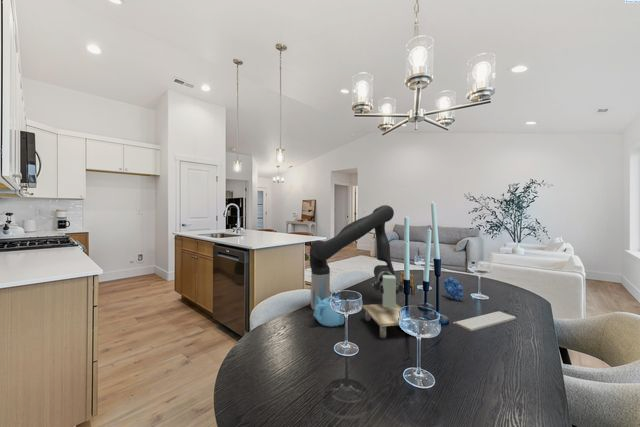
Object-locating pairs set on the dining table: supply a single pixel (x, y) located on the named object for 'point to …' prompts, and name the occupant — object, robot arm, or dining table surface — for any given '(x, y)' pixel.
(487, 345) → the dining table surface
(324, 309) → the teapot
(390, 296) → the sage post
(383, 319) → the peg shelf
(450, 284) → the grapes
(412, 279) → the ammunition clip
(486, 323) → the baseboard
